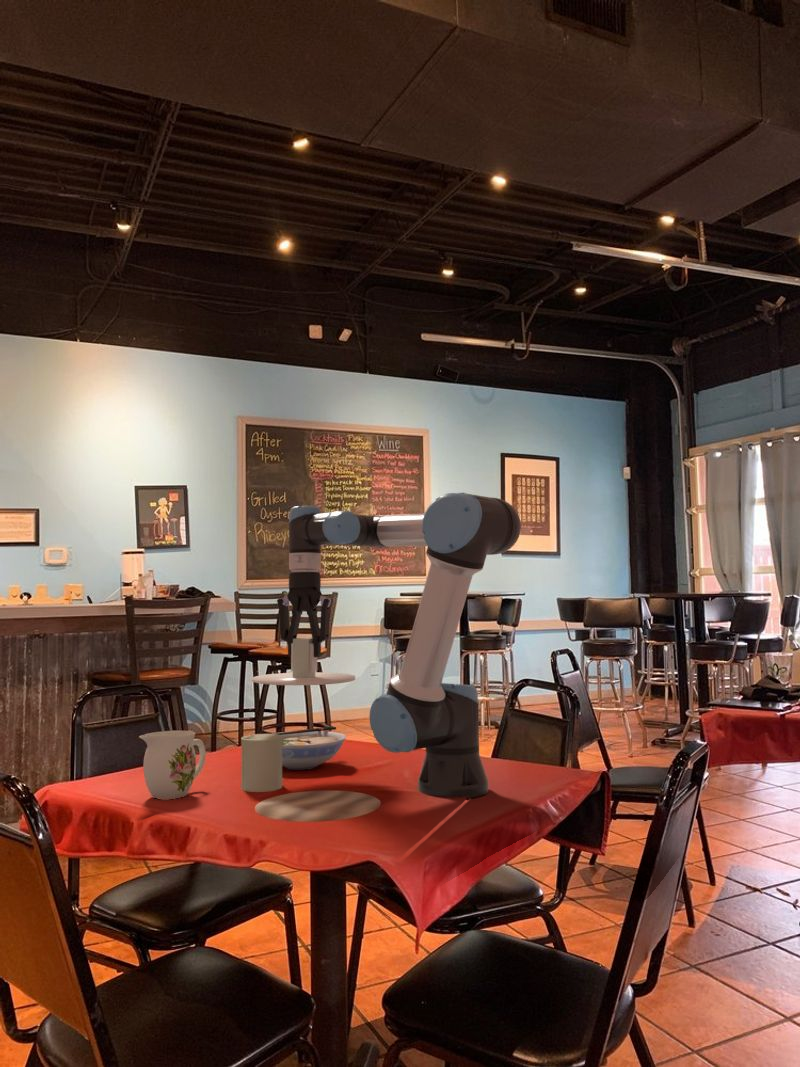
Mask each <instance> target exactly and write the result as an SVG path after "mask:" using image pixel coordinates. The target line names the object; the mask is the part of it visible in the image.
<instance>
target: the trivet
mask: <svg viewBox="0 0 800 1067" xmlns="http://www.w3.org/2000/svg"><path fill="white" fill-rule="evenodd" d="M381 804H382V803H381V800H380V799H379V798H377V797H375V796H373V795H371V794H366V793H362V792H356V791H347V790H308V791H297V792H289V793H286V794H285V793H284V794H280V795H276V796H272V797H269V798H266V799H264V800H261V801H260V802H258V803H257V804H256V805H255V806H254V810H255V812H256V813H257V814H259V815H260V816H261V817H264V818H268V819H272V820H277V821H285V822H296V823H297V822H300V823H301V822H304V823H305V822H306V823H311V822H312V823H313V822H315V823H316V822H331V821H338V820H339V821H341V820H346V819H352V818H356V817H361V816H364V815H367V814H370V813H372V812H374V811H376V810H378V809H379V808H380V806H381Z"/></svg>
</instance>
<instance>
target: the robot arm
mask: <svg viewBox="0 0 800 1067" xmlns="http://www.w3.org/2000/svg"><path fill="white" fill-rule="evenodd" d="M288 521H289V522H288V551H289V553H288V557H289V558H288V569H289V571H291V572H289V573H288V590H289V591H288V593H287V596H284V597H282V598H277V600H276V603H277V606H278V608H279V633H280V634H279V637H280V640H281V641H285V642H287V656H288V657H290V672H293V639H296V638H297V637H298V634H299V627H300V622H301V617H302V614H303V611H305V612H306V614H307V616H308V622H309V629H310V633H311V638H312V639H313V641H312V643H311V644H310V672H318V658H320V657H321V655H322V650H321V649H322V643H323V642H325V641H328V640H329V638H330V612H331V606H332V603H333V599H332V598H328V597H325V596H323V593H322V592H321V587H322V585H321V583H322V582H321V577H322V574H321V572H319V571H320V570H321V569H322V563H321V561H322V560H321V559H322V555H321V554H322V551H321V549H322V548H321V546H335V545H336V546H350V547H351V546H352V547H368V548H375V549H384V548H390V547H392V548H393V547H398V548H399V547H427V548H426V552H425V554H426V556H427V558H428V560H429V561H430V565H429V570H428V573H427V575H426V576H427V577H426V579H425V580H426V581H425V584H424V586H423V587H424V588H423V591H422V593H421V598H420V601H419V605H418V609H417V612H416V616H415V619H414V623H413V626H412V630H411V633H410V637H409V640H408V643H407V647H406V651H405V654H404V658H403V661H402V666H401V668H400V672H399V673H397V674H395V675H393V676H392V677H391V678H390V681H389V684H388V688H387V691H386V694H381V695H379V696H378V697H376V698H375V699H374V700H373V702H372V704H371V706H370V708H369V709H370V710H369V718H368V719H369V726H370V730H371V731H372V733H373V737H374V739H375V741H376V742H377V743H378V745H380V746H381V747H382V748H383V749H384V750H386V751H388V752H390V753H393V754H398V753H404V754H405V753H410V752H412V751H416V750H417V751H418V750H421V749H425V754H424V755H425V757H424V759H423V763H422V767H421V770H420V773H419V776H418V781H417V790H418V792H420V793H421V794H424V795H427V796H432V797H441V798H467V799H472V798H473V799H474V798H478V797H481V796H484V795H487V794H488V793H489V780H488V776H487V774H486V770H485V767H484V764H483V762H482V758H481V755H480V726H479V724H480V723H479V721H480V718H479V706H480V703H479V698H478V697H479V696H478V690H477V688H476V687H475V686H474V685H472V684H461V683H459V684H458V683H448V682H447V683H446V682H442V681H443V678H444V675H445V672H446V669H447V664H448V662H449V658H450V654H451V650H452V647H453V644H454V642H455V641H454V640H455V638H456V634H457V631H458V628H459V623H460V620H461V617H462V613H463V609H464V606H465V603H466V600H467V596H468V592H469V589H470V585H471V582H472V579H473V576H474V575H475V574H477V573H478V572H481V571H482V570H483V569H484V565H485V562H486V559H487V556H490V555H491V556H492V555H500V554H503V553H506V552H507V551H509V550H510V549H511V548H512V547H513V546H515V545H516V543H517V541H518V539H519V537H520V535H521V532H522V531H521V530H522V529H521V528H522V524H521V518H520V515H519V513H518V512H517V510H516V509H515V507H514V506H513V504H511V503H509V502H508V501H507V500H504V499H501V498H498V497H489V496H482V495H477V494H472V493H468V492H467V493H466V492H450V493H449V492H447V493H445V494H442V495H440V496H439V497H437V498H435V499H434V500H433V501H432V502H431V503H430V504H428V507H427V508H426V510H425V512H424V513H422V512H421V513H407V514H406V513H405V514H389V515H388V514H386V515H383V514H382V515H371V514H370V515H369V514H368V515H367V514H357V513H353V512H352V511H351V510H350V511H349V510H334V511H331V512H322V510H321V508H320V507H319V506H316V505H315V506H314V505H297V506H296V505H295V506H293V507H291V508H290V511H289V519H288ZM319 603H320V606H321V609H320V622H319V618H318V608H317V607H318V604H319ZM290 604H291V606H292V610H291V618H290V616H289V615H290V613H289V612H290V610H289V605H290ZM290 619H291V620H290Z"/></svg>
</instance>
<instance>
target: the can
mask: <svg viewBox="0 0 800 1067" xmlns="http://www.w3.org/2000/svg"><path fill="white" fill-rule="evenodd" d="M282 738H283V736H282V735H278V734H273V733H256V734H255V733H254V734H248V735H244V736H242V737H241V738H240V740H241V741H240V742H241V743H240V744H241V745H240V746H241V782H240V783H241V786H240V787H241V788H240V789H241V791H244V792H249V793H266V792H274V791H278V790H280V789H282V788H283V766H282Z"/></svg>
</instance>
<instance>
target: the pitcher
mask: <svg viewBox="0 0 800 1067" xmlns="http://www.w3.org/2000/svg"><path fill="white" fill-rule="evenodd" d="M195 736H196V732H194V731H192V730H164V731H155V732H150V733H145V734H141V735H139V736H138V738H139V739H142V740H143V741H144V742H145V744H146V746H147V747H146V749H145V753H144V757H143V765H142V766H143V777H144V781H145V784H146V787H147V790H148V792H149V793H150V795H151V796H152V797H153V799H154V798H159V799H174V798H179V799H181V798H180V797H183V798H185V797H186V795H187V794H188V793H189V791H190V789H191V788H192V785H193V782H194V781H195V780H194V779H195V778H196V777H198V776H199V775H200V773H201V772H202V770H203V768H204V766H205V764H206V758H207V755H206V746H205V744H204V742H203V741H202V739H199V738H195ZM194 746H197V747H198V750H199V760H198V763H197V754H196V751H195V747H194ZM184 796H185V797H184ZM174 800H175V799H174Z"/></svg>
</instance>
